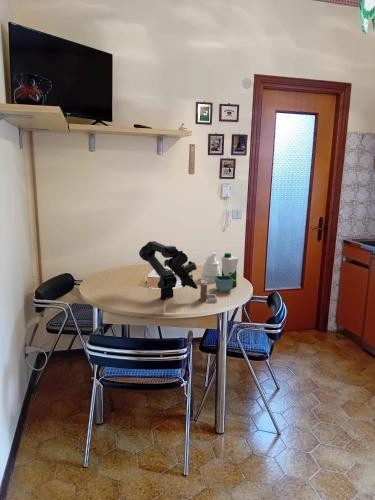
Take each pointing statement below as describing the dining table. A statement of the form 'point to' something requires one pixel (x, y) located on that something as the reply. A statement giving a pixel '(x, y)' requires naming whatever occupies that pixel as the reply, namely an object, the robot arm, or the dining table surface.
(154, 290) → the dining table surface
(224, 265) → the milk carton
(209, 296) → the slate board
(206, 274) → the white rounded cone
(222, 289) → the flower pot
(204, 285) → the block
